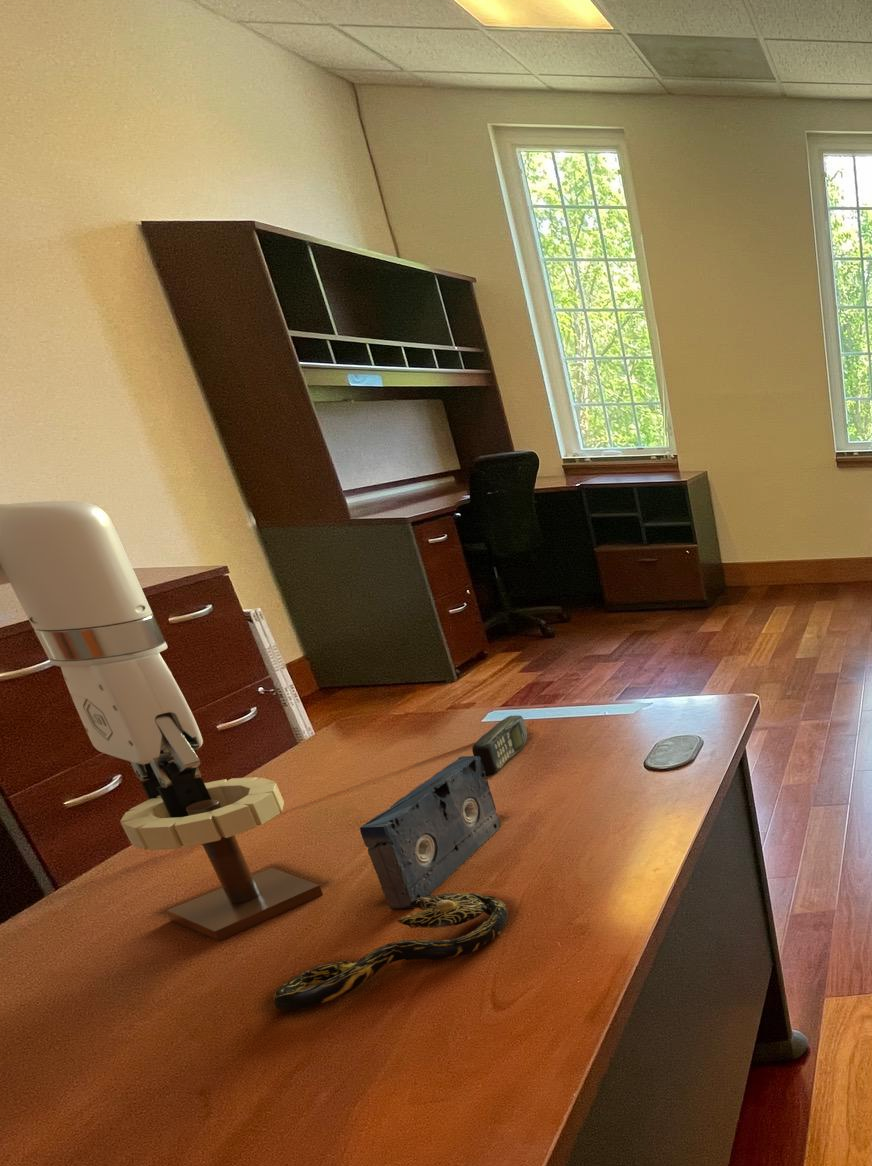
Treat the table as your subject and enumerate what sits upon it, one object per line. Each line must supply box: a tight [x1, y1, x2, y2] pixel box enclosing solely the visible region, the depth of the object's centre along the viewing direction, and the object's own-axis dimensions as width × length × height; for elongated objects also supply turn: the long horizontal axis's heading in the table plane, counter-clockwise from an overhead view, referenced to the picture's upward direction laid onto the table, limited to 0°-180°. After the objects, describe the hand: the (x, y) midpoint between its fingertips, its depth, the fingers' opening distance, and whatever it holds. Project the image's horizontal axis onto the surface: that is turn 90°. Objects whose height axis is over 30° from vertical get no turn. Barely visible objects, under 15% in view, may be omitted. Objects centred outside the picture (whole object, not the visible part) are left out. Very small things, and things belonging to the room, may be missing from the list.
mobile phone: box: [471, 714, 528, 775], centre depth 119 cm, size 5×3×15 cm
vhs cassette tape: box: [359, 755, 502, 910], centre depth 89 cm, size 18×3×10 cm, turn 4°
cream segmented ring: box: [119, 776, 285, 851], centre depth 79 cm, size 11×11×2 cm
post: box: [166, 800, 324, 942], centre depth 81 cm, size 9×9×12 cm
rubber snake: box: [273, 892, 509, 1012], centre depth 75 cm, size 18×5×10 cm
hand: (186, 812), depth 81 cm, fingers closed on cream segmented ring, 2 cm apart
